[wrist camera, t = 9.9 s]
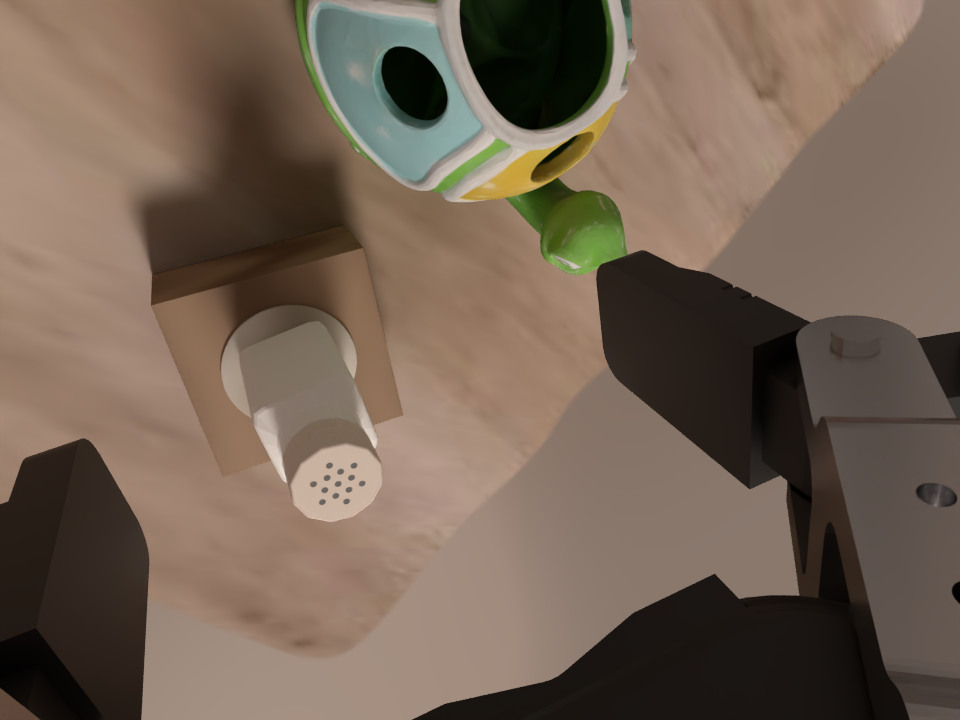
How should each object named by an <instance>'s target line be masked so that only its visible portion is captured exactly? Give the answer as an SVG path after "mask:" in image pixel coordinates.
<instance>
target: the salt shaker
mask: <svg viewBox="0 0 960 720" xmlns="http://www.w3.org/2000/svg"><path fill="white" fill-rule="evenodd" d="M239 364H240V369H241V373H242V378H243V382H244V387H245V391H246V396H247V400H248V405H249V409H250V413H251V418H252V422H253V425H254V427H255V430H256V432H257V434H258V436H259V438H260V440H261V442H262V444H263V446H264V448H265V449H266V451H267V453H268V455H269V457H270V459H271V461H272V463H273V464H274V466H275V468H276V470H277V471H278V473H279V475H280V477H281V478H282V480H283V481H284V482H286V483H288V487H289V490H290V495H291V498H292V502H293V504H294V505H295V506H296V507H297V508H298V509H299V510H300V511H302V512H303V513H304V514H305V515H306V516H307V517H308V518H313V519H318V520H323V521H328V522H332V521H336V520H340V519H344V518H348V517H352V516H354V515H356V514H357V513H358V512H360V511H361V510H362V509H364V508H365V507H366V506H368V505H369V504H370V503H372V502H373V500H374V498H375V496H376V494H377V492H378V490H379V488H380V487H381V485H382V483H383V479H382V466H381V461H380V459H379V457H378V455H377V453H376V452H375V447H376V445H377V440H378V436H377V433H376V431H375V428H374V426H373V423H372V421H371V419H370V416H369V414H368V411H367V409H366V406H365V404H364V402H363V399H362V397H361V395H360V392H359V390H358V388H357V385H356V383H355V381H354V379H353V377H352V375H351V373H350V371H349V369H348V367H347V365H346V364H345V362H344V360H343V358H342V356H341V354H340V352H339V350H338V349H337V347H336V345H335V343H334V341H333V339H332V337H331V335H330V333H329V332H328V330H327V328H326V327H325V326H324V325H323V324H321V323H320V322H318V321H314V322H308V323H305V324H303V325H300V326H298V327H295V328H293V329H290V330H288V331H285V332H283V333H281V334H278V335H276V336H273V337H271V338H268V339H266V340H263V341H261V342H258V343H256V344H254V345H251V346H249V347H247V348H246V349H244V350H243V351H242V352H241V353H240V354H239Z"/></svg>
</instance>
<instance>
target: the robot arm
mask: <svg viewBox="0 0 960 720" xmlns="http://www.w3.org/2000/svg"><path fill="white" fill-rule="evenodd" d="M596 280H597V291H598V301H599V311H600V321H601V331H602V341H603V349H604V354H605V357H606V360H607V363H608V365H609V367H610V369H611V371H612V373H613V374H614V376H615V377H616V378H617V379H618V380H619V381H620V382H621V383H622V384H623V385H624V386H625V387H627V388H628V389H629V390H630V391H631V392H633V393H634V394H635V395H636V396H638V397H639V398H640V399H641V400H642V401H644V402H645V403H646V404H647V405H648V406H650V407H651V408H652V409H653V410H654V411H656V412H657V413H658V414H659V415H660V416H662V417H663V418H664V419H665V420H667V421H668V422H669V423H670V424H671V425H673V426H674V427H675V428H676V429H677V430H679V431H680V432H681V433H682V434H683V435H685V436H686V437H687V438H688V439H689V440H691V441H692V442H693V443H694V444H696V445H697V446H698V447H699V448H700V449H702V450H703V451H704V452H705V453H706V454H708V455H709V456H710V457H711V458H712V459H714V460H715V461H716V462H717V463H718V464H720V465H721V466H722V467H723V468H724V469H726V470H727V471H728V472H729V473H731V474H732V475H733V476H734V477H736V478H737V479H738V480H739V481H740V482H741V483H743V484H744V485H745V486H746V487H748V488H749V489H751V488H754V487H756V486H758V485H760V484H762V483H765V482H767V481H769V480H771V479H773V478H776V477H778V476H780V475H781V476H782V477H783V478H784V479H786V480H787V495H786V502H787V509H788V517H789V524H790V531H791V539H792V546H793V553H794V561H795V568H796V575H797V583H798V590H799V596H786V595H781V596H780V595H778V596H777V595H776V596H775V595H770V596H758V597H748V598H742V599H738V598H737V596H735V594H734V593H733V592H732V591H731V590H730V589H729V588H728V587H727V586H726V585H725V584H724V583H723V582H722V581H721V580H720V579H719V578H718V577H717V576H716V575H715V574H713V575H711V576H709V577H707V578H705V579H703V580H701V581H699V582H697V583H695V584H693V585H691V586H688V587H686V588H685V589H682V590H680V591H678V592H676V593H674V594H672V595H670V596H668V597H666V598H664V599H661V600H659V601H657V602H655V603H653V604H651V605H649V606H647V607H645V608H643V609H641V610H639V611H637V612H634V613H633V614H632V615H630V616H629V617H628V618H627V619H626V620H624V621H623V622H622V623H621V624H620V625H619V626H617V627H616V628H615V629H614V630H613V631H612V632H610V633H609V634H608V635H607V636H606V637H604V638H603V639H602V640H601V641H600V642H599V643H597V644H596V645H595V646H594V647H593V648H592V649H590V650H589V651H588V652H587V653H586V654H585V655H583V656H582V657H581V658H580V659H579V660H578V661H576V662H575V663H574V664H573V665H572V666H571V667H569V668H568V669H567V670H566V671H565V672H563V673H562V674H561V675H559V676H558V677H556V678H554V679H552V680H549V681H546V682H542V683H537V684H533V685H529V686H524V687H520V688H515V689H510V690H506V691H501V692H497V693H493V694H488V695H483V696H479V697H474V698H469V699H465V700H460V701H456V702H451V703H447V704H444V705H442V706H440V707H438V708H435V709H433V710H431V711H429V712H427V713H425V714H423V715H421V716H419V717H417V718H415V719H413V720H960V332H954V333H948V334H942V335H936V336H930V337H923V338H916V337H915V335H914V334H913V333H911V332H910V331H909V330H907V329H906V328H904V327H902V326H900V325H898V324H895V323H893V322H889V321H886V320H883V319H879V318H872V317H866V316H836V317H829V318H824V319H820V320H817V321H814V322H812V323H811V322H809V321H807V320H804V319H802V318H800V317H798V316H796V315H794V314H792V313H790V312H788V311H786V310H784V309H782V308H780V307H778V306H776V305H773V304H771V303H769V302H767V301H765V300H763V299H761V298H759V297H757V296H755V297H752V295H751V293H749V292H747V291H745V290H743V289H741V288H739V287H735V288H733V286H732V284H730V283H728V282H726V281H724V280H722V279H720V278H718V277H716V276H714V275H712V274H709V273H705V272H700V271H695V270H690V269H685V268H679V267H677V266H675V265H673V264H671V263H669V262H667V261H665V260H663V259H661V258H659V257H657V256H655V255H653V254H651V253H649V252H647V251H643V250H641V251H638V252H635V253H632V254H629V255H626V256H623V257H620V258H617V259H614V260H611V261H608V262H605V263H602V264H601V265H600V266H599V268H598V270H597V277H596ZM148 577H149V554H148V548H147V544H146V540H145V537H144V534H143V531H142V529H141V526H140V524H139V522H138V520H137V518H136V516H135V515H134V513H133V511H132V510H131V508H130V506H129V504H128V503H127V501H126V499H125V497H124V496H123V494H122V492H121V490H120V489H119V487H118V485H117V484H116V482H115V480H114V478H113V477H112V475H111V473H110V471H109V470H108V468H107V466H106V465H105V463H104V461H103V459H102V458H101V456H100V454H99V453H98V451H97V449H96V448H95V447H94V445H93V444H92V443H91V442H90V441H88V440H87V439H80V440H77V441H74V442H71V443H68V444H65V445H62V446H59V447H56V448H53V449H50V450H47V451H44V452H41V453H38V454H35V455H32V456H30V457H27V458H25V459H24V460H23V462H22V464H21V467H20V470H19V473H18V475H17V478H16V481H15V484H14V487H13V490H12V493H11V496H10V498H9V501H8V502H6V503H3V504H0V720H141V713H142V694H143V693H142V692H143V675H144V655H145V635H146V615H147V597H148Z"/></svg>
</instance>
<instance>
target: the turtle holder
mask: <svg viewBox="0 0 960 720" xmlns="http://www.w3.org/2000/svg"><path fill="white" fill-rule="evenodd" d="M295 17H296V26H297V33H298V39H299V44H300V49H301V53H302V57H303V60H304V63H305V66H306V69H307V72H308V74H309V77H310V79H311V81H312V83H313V86H314V88H315V90H316V92H317V94H318V96H319V98H320V100H321V102H322V104H323V106H324V107H325V109H326V110H327V112H328V114H329V115H330V117H331V118H332V120H333V121H334V122H335V124H336V125H337V126H338V128H339V129H340V130H341V132H342V133H343V134H344V135H345V136H346V137H347V139H348V140H349V142H350V145H351V146H352V148H353V149H354V150H355V151H356V152H357V153H359V154H360V155H362V156H363V157H365V158H367V159H369V160H371V161H372V162H373V163H374V164H376V165H377V166H378V167H380V168H381V169H383V170H384V171H385V172H386V173H387V174H388V175H390V176H391V177H392V178H394V179H395V180H397V181H398V182H400V183H401V184H403V185H405V186H407V187H410V188H412V189H415V190H420V191H428V190H432V191H435V192H438V193H440V194H442V196H443V197H444V199H446V200H448V201H450V202H477V201H483V200H493V199H500V198H506V199H507V200H508V201H509V202H510V203H511V205H512V206H513V207H514V208H515V209H516V210H517V211H518V212H519V213H520V214H521V215H522V216H523V217H524V218H525V220H526V221H527V222H528V223H529V224H530V225H531V226H532V227H533V228H534V229H535V230H536V231H537V232H538V233H539V234H540V235H541V240H540V244H541V253H542V255H543V257H544V259H545V260H546V261H547V262H549V263H550V264H554V265H555V266H556V267H558V268H559V269H561V270H562V271H564V272H566V273H569V274H572V275H583V274H586V273H589V272H591V271H593V270H595V269H597V268H599V266H600V265H601V264H602V263H605V262H608V261H611V260H614V259H617V258H620V257H623V256H626V255H628V254H627V250H626V246H625V236H624V228H623V223H622V219H621V215H620V212H619V210H618V208H617V206H616V204H615V203H614V202H613V201H612V200H611V199H610V198H609V197H608V196H606V195H604V194H602V193H599V192H595V191H588V190H587V191H580V192H576V191H573V190H571V189H570V188H568V187H567V186H566V185H564V184H563V183H562V182H561V181H560V179H559V178H558V176H560V175H561V174H563V173H564V172H566V171H567V170H569V169H570V168H572V167H573V166H574V165H575V164H577V163H578V162H579V161H580V160H581V159H582V158H584V157H585V156H586V155H587V154H588V153H589V152H590V150H591V149H592V148H593V147H594V145H595V144H596V143H597V141H598V140H599V139H600V137H601V135H602V134H603V132H604V130H605V129H606V127H607V125H608V123H609V121H610V119H611V117H612V115H613V113H614V111H615V109H616V106H617V104H618V102H619V100H620V99H621V98H622V97H623V96H624V95H625V94H626V93H627V91H628V88H629V86H628V83H627V81H626V79H625V77H626V73H627V69H628V65H630V64H631V63H632V62H633V60H634V59H635V58H636V52H637V50H636V47H635V46H634V44H633V43H632V11H631V2H630V0H295Z"/></svg>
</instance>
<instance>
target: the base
mask: <svg viewBox="0 0 960 720" xmlns="http://www.w3.org/2000/svg"><path fill="white" fill-rule="evenodd" d="M151 307H152V309H153V311H154V314H155V316H156V318H157V321H158V323H159V326H160V328H161V330H162V333H163V335H164V338H165V340H166V342H167V345H168V347H169V350H170V352H171V354H172V357H173V359H174V362H175V364H176V366H177V369H178V371H179V373H180V376H181V378H182V381H183V383H184V385H185V388H186V390H187V393H188V395H189V397H190V400H191V402H192V405H193V407H194V409H195V412H196V414H197V416H198V419H199V421H200V424H201V426H202V428H203V431H204V433H205V436H206V438H207V440H208V443H209V445H210V448H211V450H212V452H213V455H214V457H215V460H216V462H217V464H218V467H219V469H220V471H221V474H222V476H223V477H225V476H228V475H230V474H233V473H236V472H239V471H242V470H245V469H248V468H251V467H254V466H257V465H259V464H262V463H265V462H268V461H271V459H270V457H269V455H268V453H267V451H266V449H265V448H264V446H263V444H262V442H261V440H260V438H259V436H258V434H257V432H256V430H255V427H254V425H253V422H252V418H251V413H250V409H249V405H248V400H247V396H246V391H245V387H244V382H243V378H242V373H241V369H240V364H239V354H240V353H241V352H242V351H243V350H244V349H246V348H247V347H249V346H251V345H254V344H256V343H258V342H261V341H263V340H266V339H268V338H271V337H273V336H276V335H278V334H281V333H283V332H285V331H288V330H290V329H293V328H295V327H298V326H300V325H303V324H305V323H308V322H314V321H318V322H320V323H321V324H323V325H324V326H325V327H326V328H327V330H328V332H329V333H330V335H331V337H332V339H333V341H334V343H335V345H336V347H337V349H338V350H339V352H340V354H341V356H342V358H343V360H344V362H345V364H346V365H347V367H348V369H349V371H350V373H351V375H352V377H353V379H354V381H355V383H356V385H357V388H358V390H359V392H360V395H361V397H362V399H363V402H364V404H365V406H366V409H367V411H368V414H369V416H370V419H371V421H372V423H373V425H375V424H378V423H381V422H384V421H387V420H390V419H392V418H395V417H398V416H401V415H403V412H402V408H401V404H400V399H399V395H398V391H397V387H396V383H395V378H394V374H393V370H392V366H391V362H390V357H389V353H388V349H387V345H386V341H385V337H384V332H383V328H382V324H381V320H380V316H379V311H378V307H377V303H376V299H375V295H374V290H373V286H372V282H371V278H370V274H369V270H368V265H367V261H366V257H365V253H364V249H363V247H362V246H361V245H360V243H359V242H358V241H357V240H356V239H355V238H354V237H353V235H352V234H351V233H350V232H349V231H348V230H347V229H346V227H345V226H344V225H342V226H338V227H335V228H331V229H327V230H323V231H319V232H315V233H312V234H308V235H304V236H300V237H296V238H292V239H289V240H285V241H281V242H277V243H273V244H269V245H266V246H262V247H258V248H254V249H250V250H246V251H243V252H239V253H235V254H231V255H227V256H223V257H220V258H216V259H212V260H208V261H204V262H200V263H197V264H193V265H189V266H185V267H181V268H177V269H173V270H170V271H166V272H162V273H158V274H154V275H152V294H151Z"/></svg>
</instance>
